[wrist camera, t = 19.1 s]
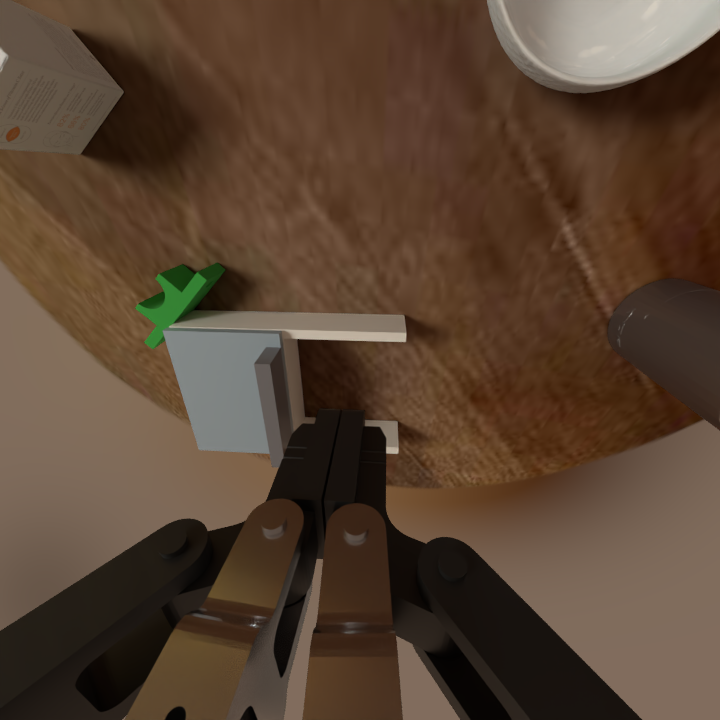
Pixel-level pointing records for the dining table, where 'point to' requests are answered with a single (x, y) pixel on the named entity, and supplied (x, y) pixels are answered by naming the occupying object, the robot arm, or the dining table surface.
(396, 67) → the dining table surface
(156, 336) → the pipe clamp
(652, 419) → the dining table surface
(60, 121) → the small box
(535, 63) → the cereal bowl
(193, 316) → the housing
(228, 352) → the lid
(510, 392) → the dining table surface
